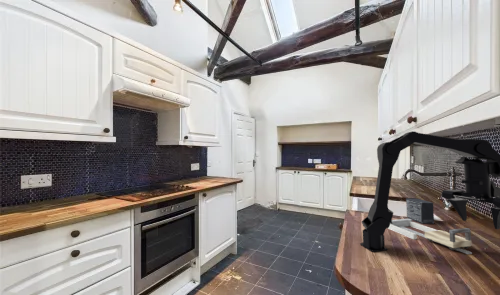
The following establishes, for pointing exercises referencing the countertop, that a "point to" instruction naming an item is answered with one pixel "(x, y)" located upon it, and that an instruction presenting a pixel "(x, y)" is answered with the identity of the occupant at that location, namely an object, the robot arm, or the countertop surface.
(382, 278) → the countertop surface
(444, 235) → the beige hollow block
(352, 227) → the countertop surface
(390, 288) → the countertop surface
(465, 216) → the robot arm
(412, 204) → the small box
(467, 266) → the countertop surface
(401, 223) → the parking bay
